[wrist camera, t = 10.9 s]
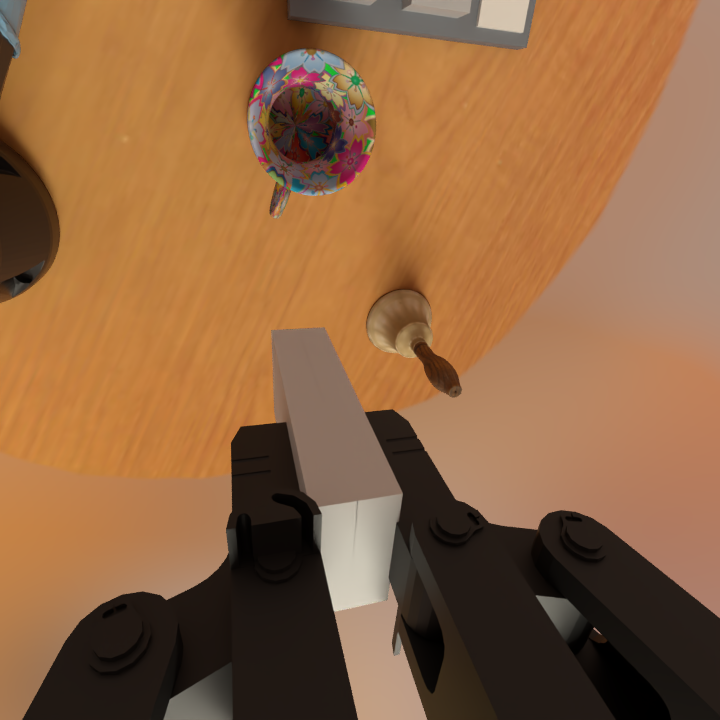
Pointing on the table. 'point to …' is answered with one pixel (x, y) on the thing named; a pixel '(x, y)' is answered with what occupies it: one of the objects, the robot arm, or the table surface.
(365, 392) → the table surface
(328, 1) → the board
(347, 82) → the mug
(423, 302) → the hand bell
